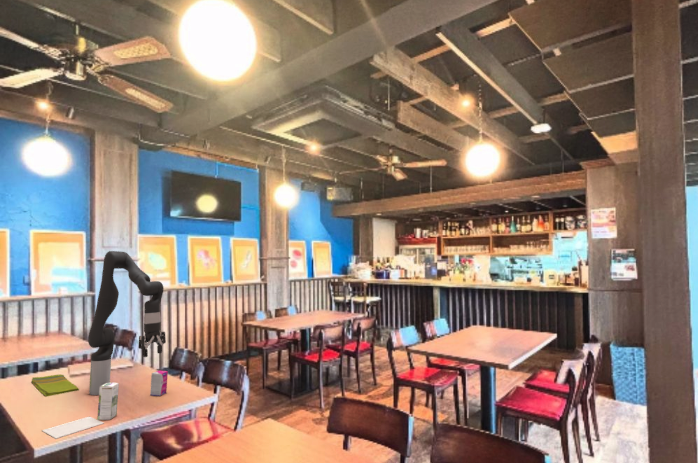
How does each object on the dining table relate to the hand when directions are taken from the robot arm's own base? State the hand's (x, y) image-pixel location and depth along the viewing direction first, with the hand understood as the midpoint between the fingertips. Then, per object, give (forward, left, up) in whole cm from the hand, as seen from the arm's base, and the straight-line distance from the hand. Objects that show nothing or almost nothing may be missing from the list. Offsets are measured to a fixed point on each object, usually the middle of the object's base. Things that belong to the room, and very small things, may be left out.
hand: (152, 355), depth 200 cm
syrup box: (+1, -21, -24) cm, 31 cm away
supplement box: (-10, +10, -24) cm, 27 cm away
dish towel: (-70, -14, -24) cm, 75 cm away
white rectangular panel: (0, -34, -23) cm, 41 cm away
